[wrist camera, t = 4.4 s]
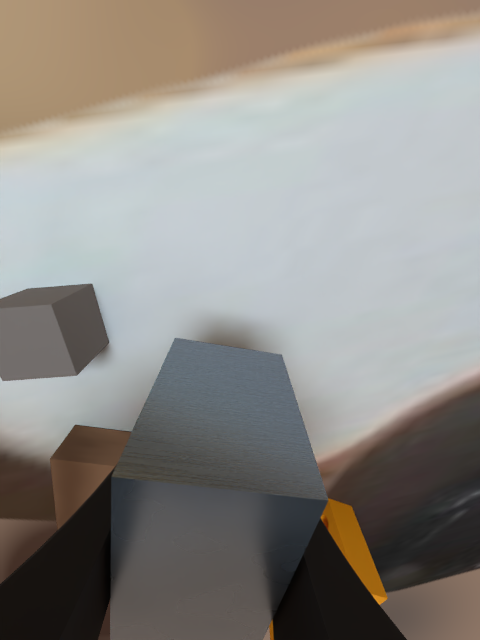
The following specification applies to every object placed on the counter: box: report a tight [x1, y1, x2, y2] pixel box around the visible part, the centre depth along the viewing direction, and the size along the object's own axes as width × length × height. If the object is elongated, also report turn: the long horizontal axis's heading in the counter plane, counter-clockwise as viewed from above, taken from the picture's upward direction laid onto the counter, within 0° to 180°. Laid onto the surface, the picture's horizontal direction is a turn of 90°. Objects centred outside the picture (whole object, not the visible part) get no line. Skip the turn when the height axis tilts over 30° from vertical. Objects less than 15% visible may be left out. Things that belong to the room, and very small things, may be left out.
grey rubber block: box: [0, 284, 109, 381], centre depth 15 cm, size 4×4×4 cm
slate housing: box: [110, 338, 328, 640], centre depth 10 cm, size 4×9×6 cm, turn 169°
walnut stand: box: [50, 425, 132, 530], centre depth 22 cm, size 14×14×3 cm
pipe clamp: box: [269, 498, 387, 640], centre depth 24 cm, size 12×4×6 cm, turn 154°
